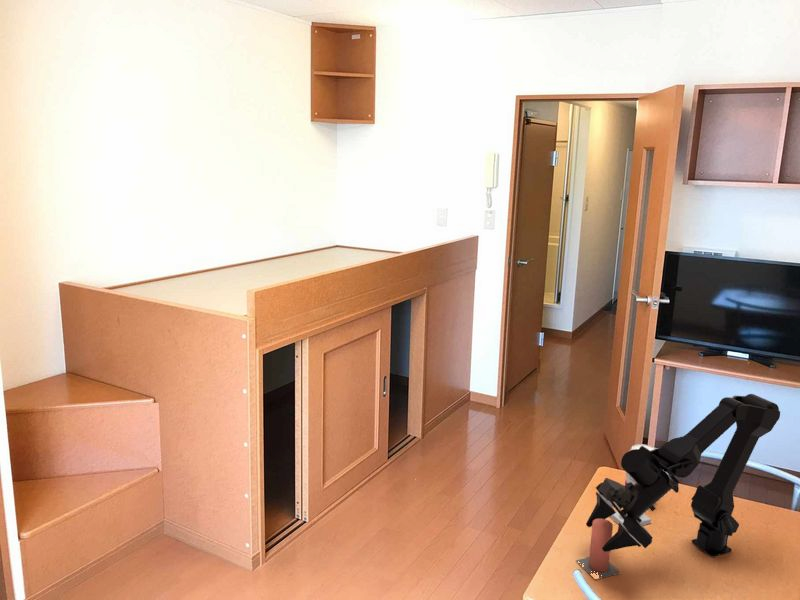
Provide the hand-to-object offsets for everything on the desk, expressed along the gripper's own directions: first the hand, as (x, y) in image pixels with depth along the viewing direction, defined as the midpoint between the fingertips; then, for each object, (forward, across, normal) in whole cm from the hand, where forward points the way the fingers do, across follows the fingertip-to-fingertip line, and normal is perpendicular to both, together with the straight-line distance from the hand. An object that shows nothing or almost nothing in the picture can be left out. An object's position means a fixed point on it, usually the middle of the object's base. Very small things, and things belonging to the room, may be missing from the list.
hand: (595, 537), depth 146 cm
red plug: (+4, 0, +6) cm, 8 cm away
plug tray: (-7, -18, +18) cm, 26 cm away
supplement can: (-11, -27, +23) cm, 37 cm away
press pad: (+5, 0, +6) cm, 8 cm away
